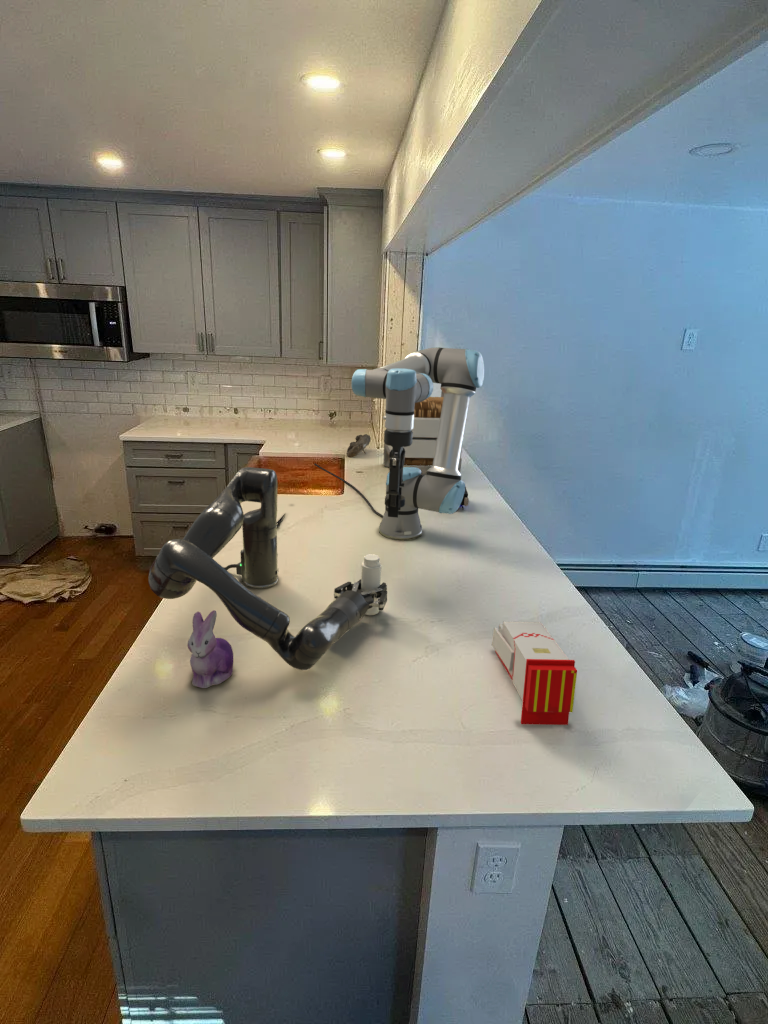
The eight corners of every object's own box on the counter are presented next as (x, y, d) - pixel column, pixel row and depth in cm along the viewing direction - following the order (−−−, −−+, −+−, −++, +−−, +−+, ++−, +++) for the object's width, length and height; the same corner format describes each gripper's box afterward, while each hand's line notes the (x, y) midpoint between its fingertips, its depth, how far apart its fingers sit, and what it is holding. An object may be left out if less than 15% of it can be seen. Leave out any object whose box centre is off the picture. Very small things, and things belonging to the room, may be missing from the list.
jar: (383, 610, 149) (385, 557, 144) (370, 617, 145) (372, 563, 140) (369, 603, 152) (371, 551, 147) (356, 610, 148) (357, 556, 143)
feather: (292, 507, 224) (294, 503, 223) (275, 531, 197) (278, 527, 197) (288, 505, 224) (291, 501, 223) (271, 528, 197) (273, 524, 197)
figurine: (194, 695, 113) (188, 630, 108) (185, 667, 122) (179, 606, 117) (241, 683, 118) (238, 620, 112) (229, 657, 126) (226, 597, 121)
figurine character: (468, 514, 225) (463, 498, 239) (470, 497, 222) (465, 482, 235) (451, 514, 225) (447, 498, 238) (453, 497, 222) (449, 481, 235)
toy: (538, 606, 134) (586, 666, 105) (533, 659, 137) (578, 731, 108) (487, 605, 134) (521, 665, 105) (483, 658, 137) (515, 730, 107)
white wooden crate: (382, 463, 289) (386, 382, 275) (445, 464, 293) (451, 384, 279) (390, 482, 257) (394, 392, 243) (460, 483, 261) (468, 394, 247)
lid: (381, 505, 154) (381, 498, 153) (389, 500, 159) (389, 492, 158) (400, 509, 152) (400, 501, 151) (407, 503, 157) (408, 496, 156)
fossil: (346, 440, 316) (367, 425, 311) (357, 453, 319) (378, 438, 314) (340, 453, 296) (362, 438, 291) (351, 468, 299) (374, 452, 294)
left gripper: (318, 618, 138) (350, 589, 153) (371, 633, 133) (399, 602, 147) (318, 591, 135) (351, 564, 150) (372, 605, 130) (401, 576, 145)
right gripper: (389, 422, 157) (385, 501, 165) (379, 435, 140) (375, 523, 148) (416, 424, 157) (410, 503, 164) (409, 437, 139) (404, 525, 147)
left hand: (374, 583), depth 149 cm, fingers closed on jar, 5 cm apart
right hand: (394, 512), depth 156 cm, fingers closed on lid, 5 cm apart
